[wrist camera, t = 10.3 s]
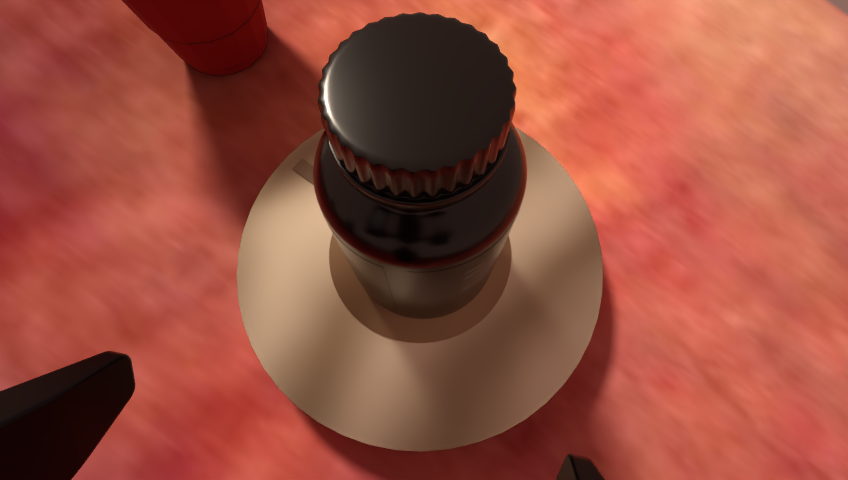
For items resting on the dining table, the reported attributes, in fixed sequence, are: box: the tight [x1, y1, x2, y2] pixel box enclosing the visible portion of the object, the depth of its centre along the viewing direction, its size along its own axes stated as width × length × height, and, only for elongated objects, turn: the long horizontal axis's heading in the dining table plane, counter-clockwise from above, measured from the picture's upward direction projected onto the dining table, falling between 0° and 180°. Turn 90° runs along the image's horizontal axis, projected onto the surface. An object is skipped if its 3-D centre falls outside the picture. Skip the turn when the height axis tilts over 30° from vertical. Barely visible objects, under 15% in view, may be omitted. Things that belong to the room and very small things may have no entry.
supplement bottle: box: [313, 12, 527, 319], centre depth 16 cm, size 7×7×12 cm
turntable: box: [237, 127, 603, 452], centre depth 22 cm, size 18×18×2 cm
